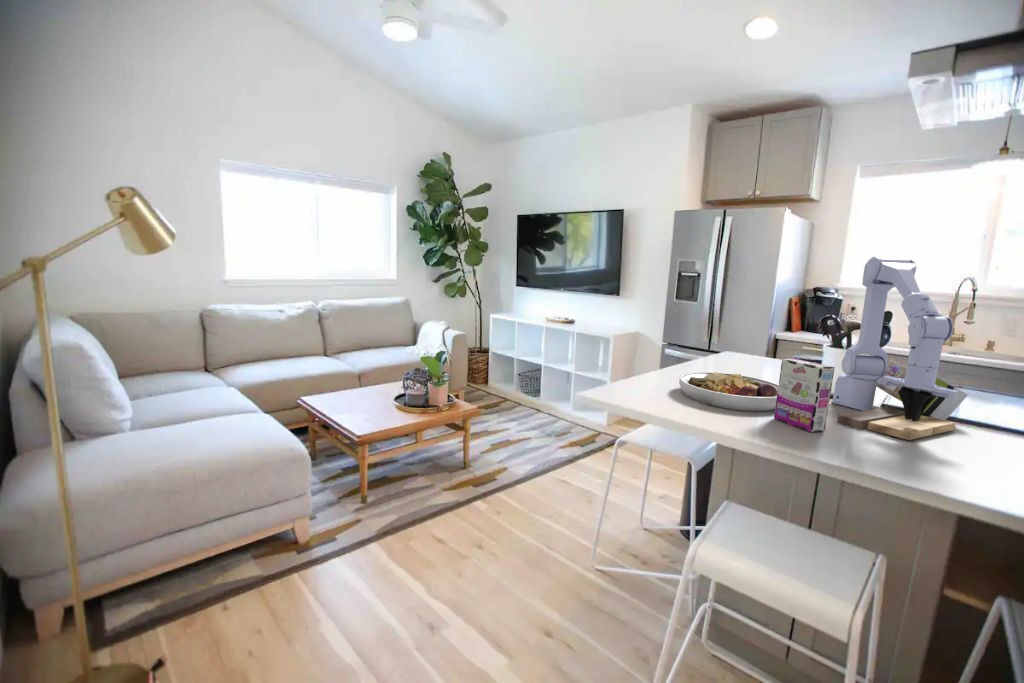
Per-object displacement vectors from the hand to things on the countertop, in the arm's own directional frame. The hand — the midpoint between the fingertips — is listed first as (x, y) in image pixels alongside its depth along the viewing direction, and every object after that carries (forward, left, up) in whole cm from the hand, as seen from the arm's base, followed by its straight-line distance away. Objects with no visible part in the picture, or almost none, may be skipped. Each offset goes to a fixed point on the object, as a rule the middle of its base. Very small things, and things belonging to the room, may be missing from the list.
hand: (911, 419), depth 118 cm
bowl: (-39, -16, -5) cm, 43 cm away
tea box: (-6, +29, 0) cm, 29 cm away
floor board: (-10, +5, -4) cm, 12 cm away
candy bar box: (-15, -20, -4) cm, 25 cm away
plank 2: (-2, +11, -4) cm, 12 cm away
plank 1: (-2, 0, -4) cm, 4 cm away
